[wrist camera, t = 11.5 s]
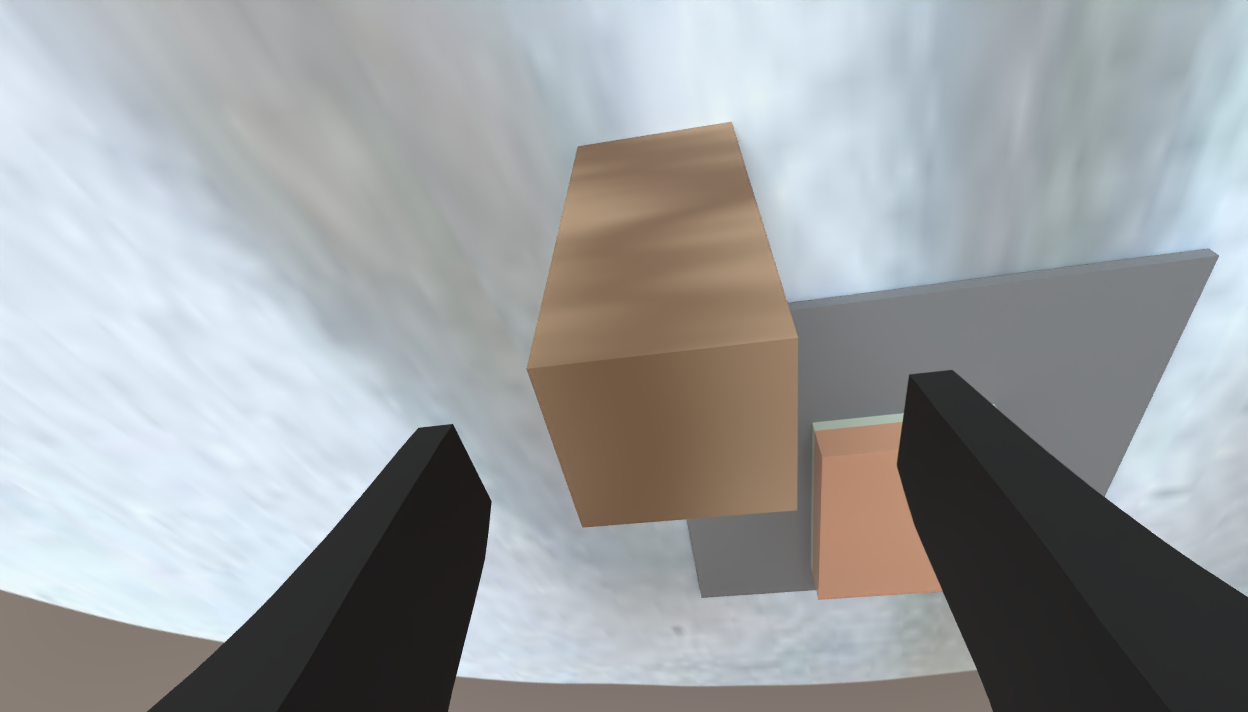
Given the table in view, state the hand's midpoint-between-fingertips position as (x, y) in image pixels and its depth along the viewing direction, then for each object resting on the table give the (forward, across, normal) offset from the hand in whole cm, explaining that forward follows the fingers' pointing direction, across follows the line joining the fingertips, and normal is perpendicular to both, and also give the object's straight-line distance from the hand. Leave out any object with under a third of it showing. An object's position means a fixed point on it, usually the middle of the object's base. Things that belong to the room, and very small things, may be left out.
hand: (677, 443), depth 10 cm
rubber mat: (+9, -7, +12) cm, 17 cm away
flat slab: (+8, -7, +9) cm, 14 cm away
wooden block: (+9, 0, 0) cm, 9 cm away
